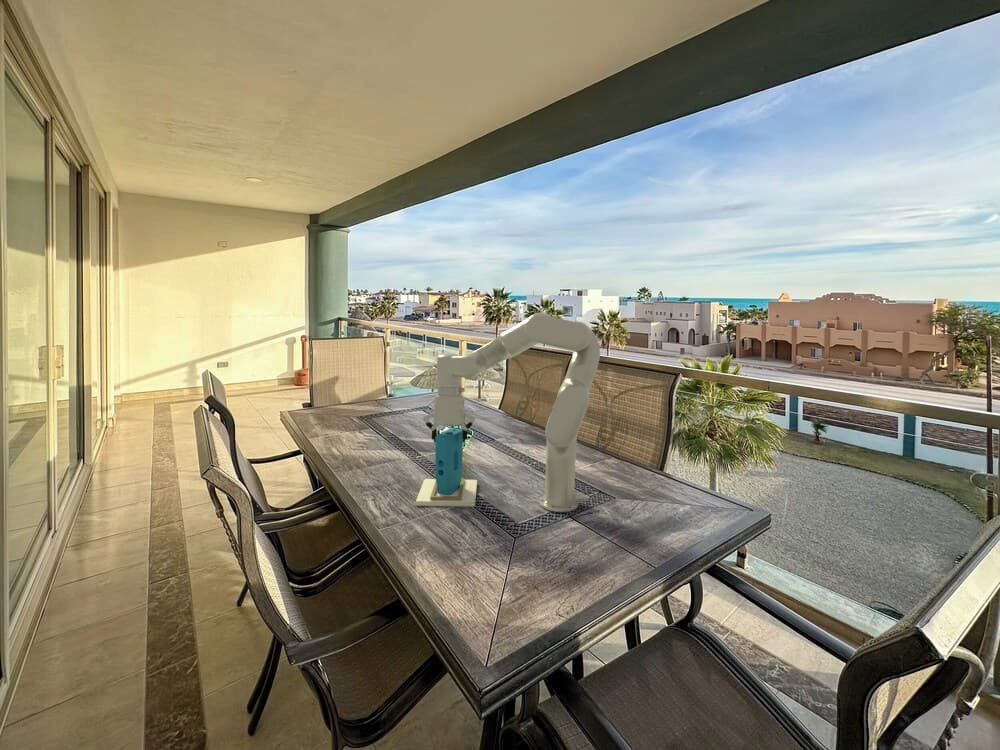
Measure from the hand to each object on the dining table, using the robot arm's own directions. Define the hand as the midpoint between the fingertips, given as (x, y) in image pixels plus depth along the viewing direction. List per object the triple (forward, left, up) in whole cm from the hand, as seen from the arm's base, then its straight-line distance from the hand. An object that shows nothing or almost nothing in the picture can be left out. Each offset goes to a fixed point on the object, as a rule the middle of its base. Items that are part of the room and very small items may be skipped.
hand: (449, 441), depth 155 cm
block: (0, 0, -17) cm, 17 cm away
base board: (0, 0, -19) cm, 19 cm away
